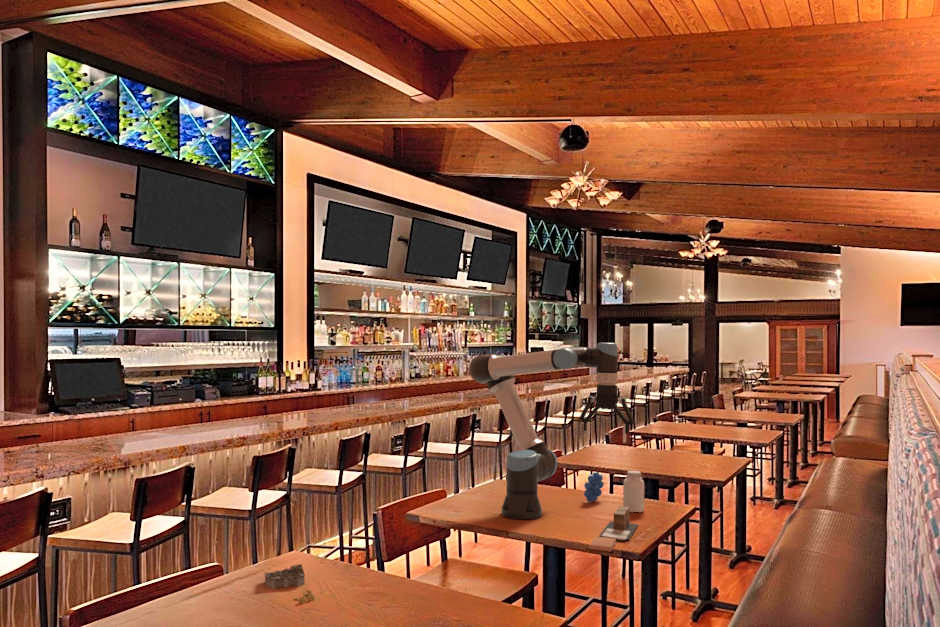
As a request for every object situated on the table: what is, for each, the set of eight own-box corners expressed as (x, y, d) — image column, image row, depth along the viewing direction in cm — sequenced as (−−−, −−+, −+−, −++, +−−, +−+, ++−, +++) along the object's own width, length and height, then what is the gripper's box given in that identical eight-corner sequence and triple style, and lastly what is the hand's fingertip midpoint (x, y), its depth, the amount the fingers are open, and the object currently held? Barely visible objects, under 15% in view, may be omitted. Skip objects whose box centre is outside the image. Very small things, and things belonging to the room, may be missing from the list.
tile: (595, 541, 249) (589, 550, 240) (595, 536, 250) (589, 544, 240) (616, 544, 247) (610, 552, 238) (616, 538, 247) (611, 547, 238)
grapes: (593, 497, 311) (594, 468, 311) (607, 500, 306) (607, 471, 306) (576, 502, 303) (576, 472, 303) (589, 505, 298) (590, 475, 298)
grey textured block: (303, 578, 210) (303, 563, 210) (305, 587, 203) (305, 572, 203) (264, 581, 207) (264, 566, 207) (264, 590, 200) (265, 575, 200)
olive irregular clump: (309, 596, 197) (310, 589, 197) (318, 602, 193) (318, 595, 193) (291, 600, 194) (292, 593, 194) (300, 606, 190) (300, 599, 190)
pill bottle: (642, 508, 294) (643, 470, 294) (645, 513, 286) (645, 474, 286) (622, 507, 295) (622, 469, 295) (624, 512, 287) (624, 473, 287)
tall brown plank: (613, 521, 271) (613, 505, 271) (635, 524, 268) (635, 507, 268) (601, 537, 251) (601, 519, 251) (625, 540, 248) (625, 522, 248)
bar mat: (599, 537, 253) (599, 535, 253) (610, 523, 272) (610, 521, 272) (629, 541, 249) (629, 539, 249) (638, 526, 268) (638, 524, 268)
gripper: (571, 383, 280) (570, 440, 279) (639, 386, 270) (638, 445, 270) (576, 381, 287) (575, 437, 286) (642, 384, 277) (641, 442, 277)
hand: (606, 441), depth 278 cm, fingers open, 13 cm apart
